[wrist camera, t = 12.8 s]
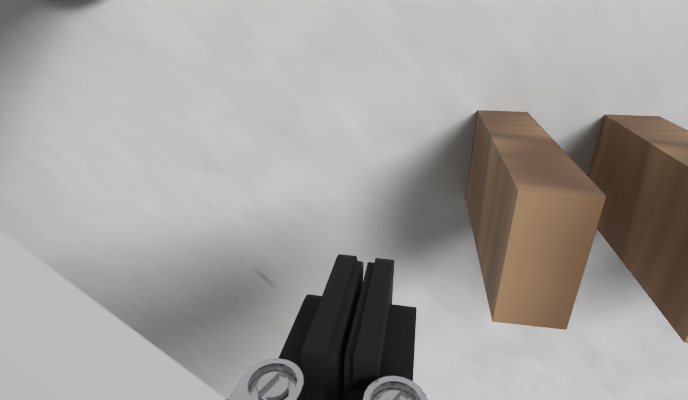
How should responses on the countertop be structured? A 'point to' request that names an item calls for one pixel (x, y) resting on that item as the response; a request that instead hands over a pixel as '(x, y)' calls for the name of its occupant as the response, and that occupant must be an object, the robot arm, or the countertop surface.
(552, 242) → the domino
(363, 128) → the countertop surface
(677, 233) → the domino
